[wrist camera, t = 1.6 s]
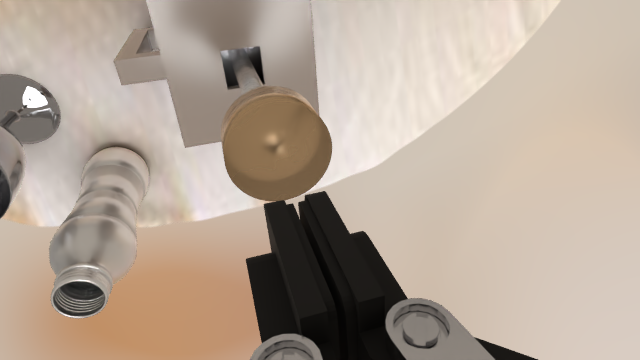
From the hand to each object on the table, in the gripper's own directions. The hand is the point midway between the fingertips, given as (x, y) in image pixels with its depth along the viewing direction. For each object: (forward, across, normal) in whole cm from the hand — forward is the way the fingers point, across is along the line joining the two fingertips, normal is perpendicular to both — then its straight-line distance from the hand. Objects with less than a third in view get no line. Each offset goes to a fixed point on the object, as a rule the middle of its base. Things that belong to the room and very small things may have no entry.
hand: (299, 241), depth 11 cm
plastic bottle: (+36, +13, +13) cm, 41 cm away
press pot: (+36, +1, -1) cm, 36 cm away
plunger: (+24, -1, 0) cm, 24 cm away
